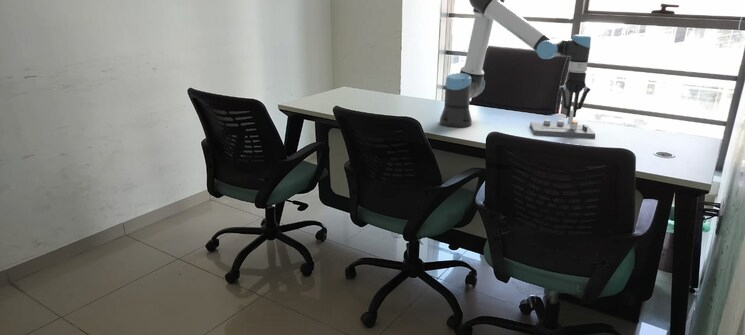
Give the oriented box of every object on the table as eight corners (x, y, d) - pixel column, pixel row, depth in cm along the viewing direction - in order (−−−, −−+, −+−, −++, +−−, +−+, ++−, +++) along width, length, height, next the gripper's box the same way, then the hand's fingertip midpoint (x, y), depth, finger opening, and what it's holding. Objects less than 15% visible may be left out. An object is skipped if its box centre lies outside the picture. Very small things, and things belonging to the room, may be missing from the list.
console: (533, 134, 238) (534, 125, 236) (529, 126, 252) (530, 118, 251) (594, 138, 233) (596, 129, 232) (587, 129, 248) (588, 121, 247)
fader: (571, 129, 238) (572, 122, 237) (570, 127, 242) (571, 120, 241) (576, 129, 237) (577, 122, 236) (575, 127, 241) (576, 120, 240)
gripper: (563, 71, 229) (555, 125, 237) (594, 73, 227) (586, 126, 235) (560, 69, 236) (553, 121, 244) (591, 70, 234) (583, 123, 242)
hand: (569, 124), depth 239 cm, fingers closed
